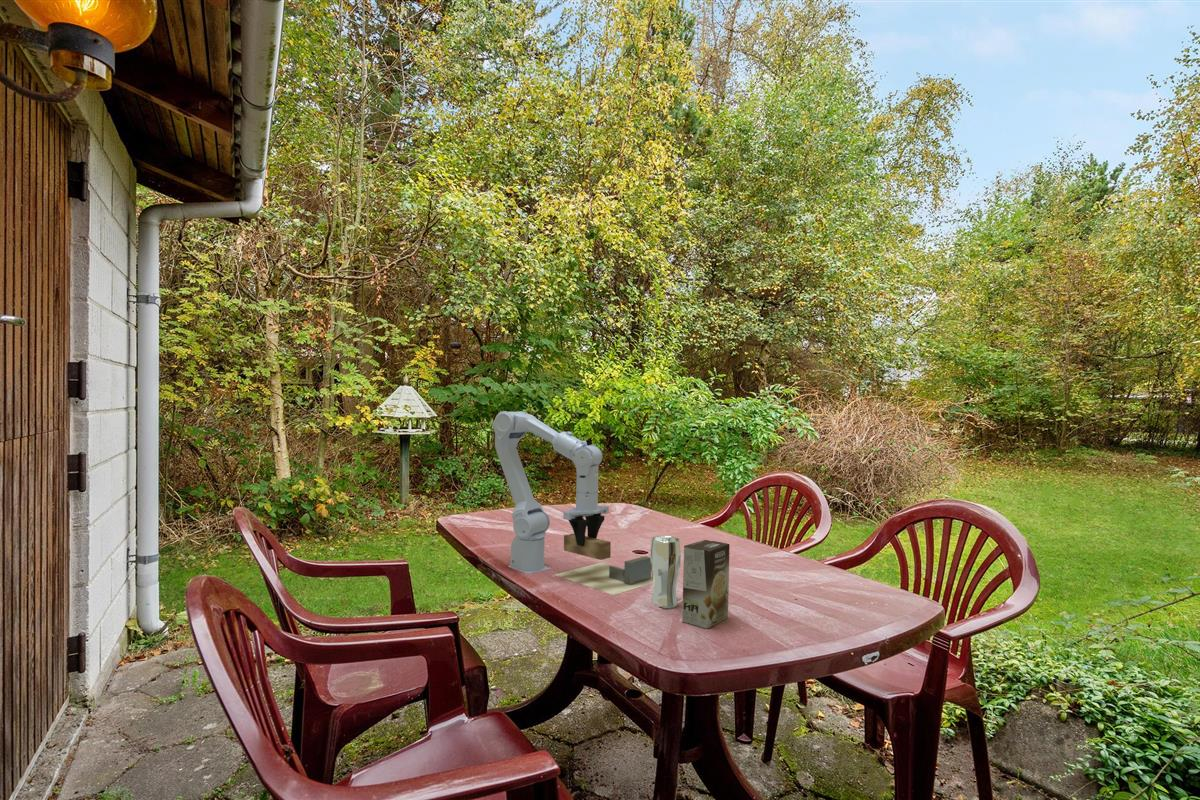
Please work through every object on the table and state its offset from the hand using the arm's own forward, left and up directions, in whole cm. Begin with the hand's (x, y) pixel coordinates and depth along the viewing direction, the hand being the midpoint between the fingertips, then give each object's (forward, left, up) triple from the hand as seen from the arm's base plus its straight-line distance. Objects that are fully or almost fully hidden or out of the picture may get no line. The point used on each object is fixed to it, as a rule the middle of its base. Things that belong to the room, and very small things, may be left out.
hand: (586, 544), depth 152 cm
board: (+4, +4, -9) cm, 11 cm away
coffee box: (+38, 0, -9) cm, 39 cm away
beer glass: (+26, +1, -9) cm, 28 cm away
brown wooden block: (0, 0, -2) cm, 3 cm away
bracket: (+8, +8, -8) cm, 14 cm away
